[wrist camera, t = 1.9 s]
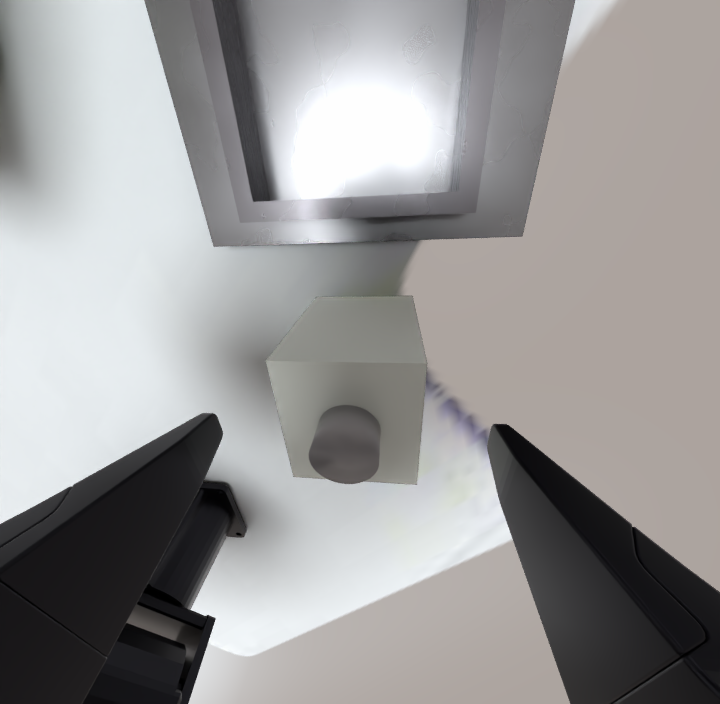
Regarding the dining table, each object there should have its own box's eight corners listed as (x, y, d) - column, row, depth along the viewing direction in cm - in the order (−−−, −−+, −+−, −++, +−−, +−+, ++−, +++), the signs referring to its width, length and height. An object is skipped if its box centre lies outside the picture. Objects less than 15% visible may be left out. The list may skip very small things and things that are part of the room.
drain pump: (407, 385, 15) (419, 519, 9) (326, 383, 15) (282, 508, 9) (412, 295, 13) (432, 390, 6) (316, 296, 13) (245, 385, 7)
